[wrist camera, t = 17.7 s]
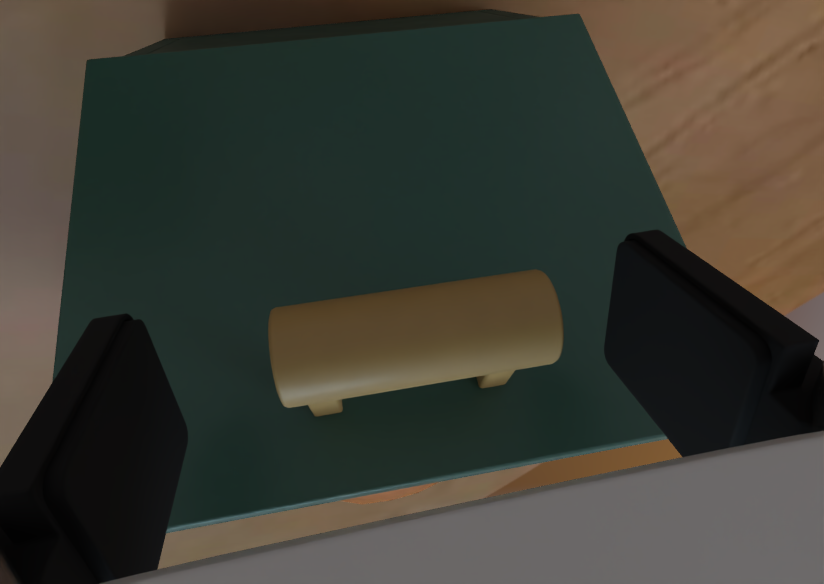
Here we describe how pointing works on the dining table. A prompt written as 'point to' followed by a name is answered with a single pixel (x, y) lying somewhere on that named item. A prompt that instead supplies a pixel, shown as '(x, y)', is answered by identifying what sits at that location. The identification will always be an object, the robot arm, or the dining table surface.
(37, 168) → the dining table surface
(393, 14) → the dining table surface
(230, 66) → the bread bin lid
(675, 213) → the dining table surface
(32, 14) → the dining table surface
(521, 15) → the bread bin
